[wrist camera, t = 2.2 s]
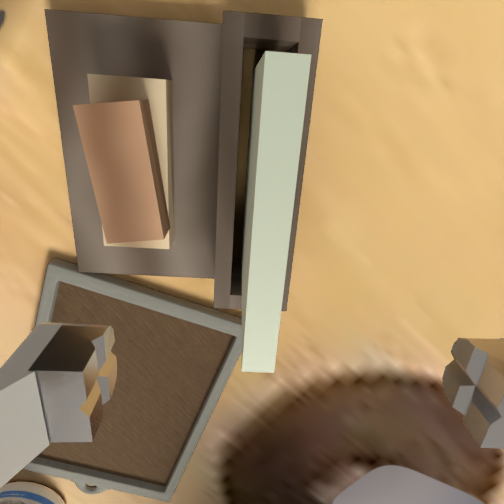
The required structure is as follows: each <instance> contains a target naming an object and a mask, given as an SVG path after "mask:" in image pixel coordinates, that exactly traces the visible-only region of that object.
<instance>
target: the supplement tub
mask: <svg viewBox="0 0 504 504" xmlns="http://www.w3.org/2000/svg"><path fill="white" fill-rule="evenodd" d="M0 504H65V503H64V501H63V500H62V498H61V497H60V496H59V495H58V494H57V493H56V492H55V491H53V490H52V489H50V488H48V487H46V486H44V485H41V484H38V483H33V482H12V483H8V484H5V485H3V486H2V487H1V488H0Z"/></svg>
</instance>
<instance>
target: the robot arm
mask: <svg viewBox="0 0 504 504" xmlns="http://www.w3.org/2000/svg"><path fill="white" fill-rule="evenodd" d="M114 342H115V337H114V329H113V328H112V327H111V326H109V325H90V324H72V323H66V324H65V323H48V322H44V323H41V324H38V325H37V326H36V327H35V328H34V330H33V331H32V332H31V333H30V334H29V335H28V337H27V338H26V339H25V340H24V341H23V342H22V344H21V345H20V346H19V347H18V348H17V349H16V351H15V352H14V353H13V354H12V355H11V356H10V358H9V359H8V360H7V361H6V362H5V363H4V365H3V366H2V367H1V368H0V488H1V487H2V486H3V485H5V484H6V483H7V482H8V481H9V480H10V479H11V478H13V477H14V476H15V475H16V474H17V473H18V472H19V471H20V470H22V469H23V468H24V467H25V466H26V465H27V464H28V463H30V462H31V461H32V460H33V459H34V458H35V457H36V456H37V455H39V454H40V453H41V452H42V451H43V450H44V449H45V448H47V447H48V446H49V442H93V440H94V437H95V435H96V433H97V430H98V428H99V425H100V423H101V421H102V418H103V416H104V415H103V406H102V405H103V404H105V403H106V402H107V401H109V400H110V399H111V396H112V393H113V391H114V387H115V382H116V378H117V357H116V356H115V355H114V354H113V353H112V352H111V349H112V347H113V345H114ZM451 353H452V355H453V357H454V360H453V361H452V362H451V363H450V364H448V365H447V366H446V368H445V371H444V374H443V390H444V392H445V395H446V398H447V399H448V401H449V402H450V404H451V405H452V407H453V408H455V409H456V410H458V411H459V412H461V413H462V414H464V419H463V423H464V424H465V426H466V427H467V429H468V430H469V432H470V433H471V435H472V436H473V437H474V439H475V440H476V442H477V443H478V445H479V446H480V447H481V448H503V449H504V338H500V339H481V338H458V340H457V341H456V342H455V343H454V345H453V347H452V350H451Z"/></svg>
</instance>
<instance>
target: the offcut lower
mask: <svg viewBox="0 0 504 504" xmlns="http://www.w3.org/2000/svg"><path fill="white" fill-rule="evenodd" d="M87 77H88V87H89V97H90V104H94V103H107V102H120V101H133V100H146V99H149V104H150V110H151V116H152V122H153V127H154V133H155V139H156V145H157V151H158V157H159V163H160V169H161V175H162V181H163V187H164V193H165V199H166V204H167V210H168V216H169V222H170V229H169V231H168V233H167V235H166V237H165V239H163V240H150V241H137V242H123V243H110V244H107V242H106V238H105V234H104V230H103V226H102V231H103V241H104V246H117V247H136V248H155V249H170V247H171V245H172V242H173V240H174V238H175V223H174V156H173V89H172V80H165V79H152V78H139V77H126V76H113V75H99V74H87Z"/></svg>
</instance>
